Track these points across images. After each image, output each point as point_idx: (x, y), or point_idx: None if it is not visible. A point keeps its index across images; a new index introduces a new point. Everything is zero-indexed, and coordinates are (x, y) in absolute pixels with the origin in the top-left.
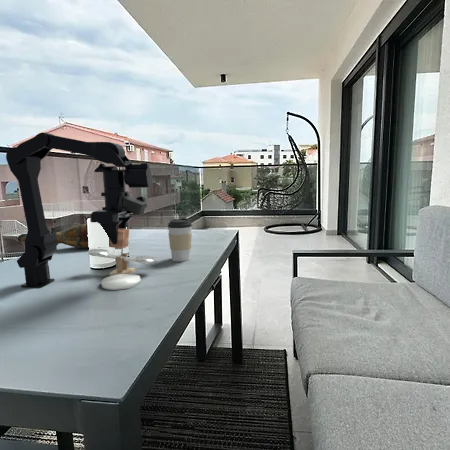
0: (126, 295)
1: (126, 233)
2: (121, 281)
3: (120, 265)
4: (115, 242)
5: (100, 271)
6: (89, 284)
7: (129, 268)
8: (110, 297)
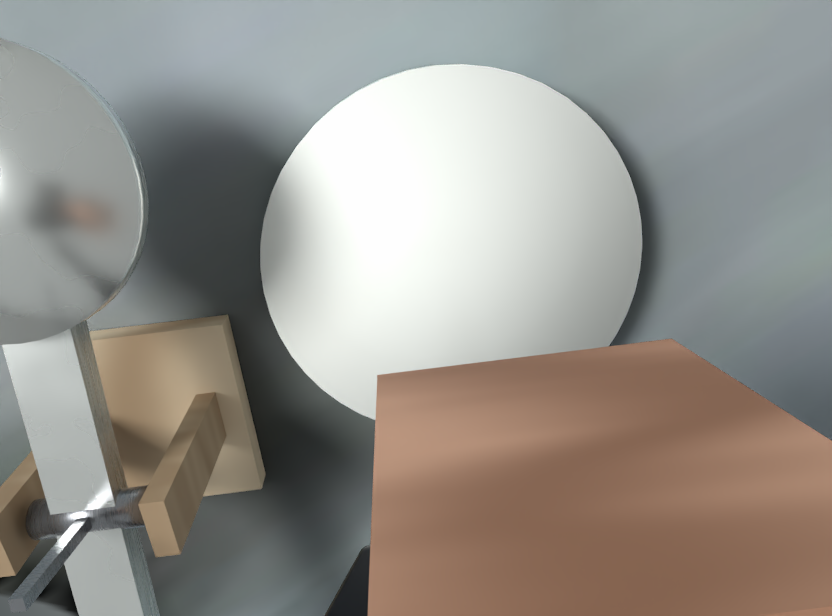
0: (764, 25)
1: (625, 532)
2: (516, 229)
3: (197, 443)
4: None
5: (180, 603)
6: None
7: None
8: (807, 153)
